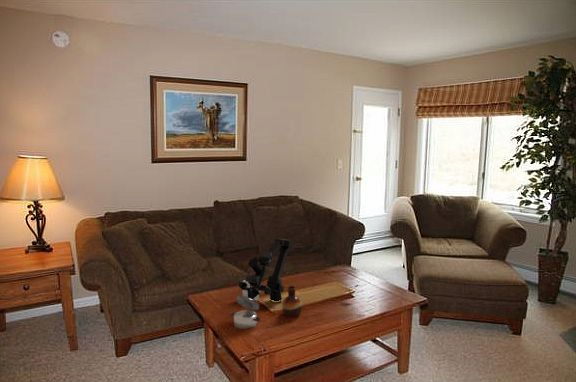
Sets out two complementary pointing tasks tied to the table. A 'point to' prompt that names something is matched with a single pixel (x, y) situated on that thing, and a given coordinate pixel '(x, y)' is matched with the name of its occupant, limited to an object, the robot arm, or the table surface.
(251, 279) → the robot arm
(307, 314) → the table surface
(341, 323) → the table surface
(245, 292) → the photo printer
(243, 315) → the cooker pot
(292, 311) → the vase
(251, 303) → the cooker lid
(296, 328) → the table surface
